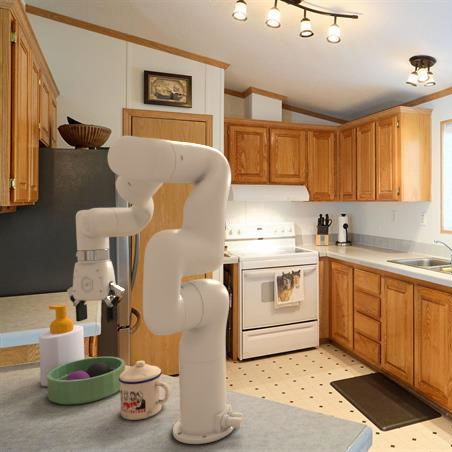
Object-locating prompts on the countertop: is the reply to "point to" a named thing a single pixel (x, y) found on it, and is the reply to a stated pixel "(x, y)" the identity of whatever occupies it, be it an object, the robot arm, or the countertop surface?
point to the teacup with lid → (141, 391)
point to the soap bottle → (60, 343)
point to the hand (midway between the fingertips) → (97, 320)
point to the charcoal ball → (97, 369)
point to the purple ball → (78, 375)
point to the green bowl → (84, 381)
